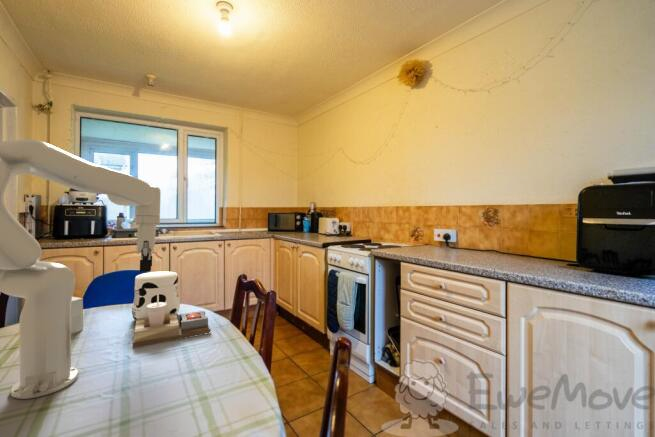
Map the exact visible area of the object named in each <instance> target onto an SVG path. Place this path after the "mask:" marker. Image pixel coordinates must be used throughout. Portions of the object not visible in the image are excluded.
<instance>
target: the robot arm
mask: <svg viewBox="0 0 655 437" xmlns="http://www.w3.org/2000/svg"><path fill="white" fill-rule="evenodd" d="M18 175H31V176H35V177H39V178H41V179H44V180H47V181H50V182H53V183H55V184H58V185H61V186H63V187H64V186H65V187H67V188H70V189H72V190H76V191H79V192H82V193H83V192H85V193H90V194H99V195H100V194H101V195H106V196H107V198H108V200H109V201H110V202H111V203H113V204H115V205H117V206H127V207H128V206H131V207H134V208H135V209H134V225H135V226H137V233H136V237H137V238H136V254H137V255H139V254H140V259H139V273H148V272H152V266H153V255H152V254H153V253H154V249H155V243H156V230H157V228H156V226H160V224H161V223H160V222H161V220H160V217H161V189H160V187H158V186H154V185H150V184H149V183H148V182H145V181H143V180H142V179H140V178H137V177H135V176H133V175H130V174H127V173H124V172H122V171H119V170H115V169H111V168H108V167H106V166H102V165H98V164H95V163H93V162H90V161H87V160H85V159H83V158H81V157H79V156H76V155H74V154H72V153H70V152H67V151H65V150H63V149H61V148H60V147H56V146H54V145H53V144H50V143H48V142H45V141H41V140H37V139H13V140H3V141H0V292H1V293H3V294H5V295H7V296H10V297H14V298H15V297H16V298H22V299H25V302H24V305H23V307H22V309H21V312H20V315H19V321H18V322H19V324H18V327H19V328H18V330H19V381H17V382H15V384H13V386H12V387H11V388H10V396H11V397H12V398H13V399H19V400H26V399H29V400H30V399H35V398H40V397H44V396H47V395H50V394H53V393H55V392H58V391H60V390H63V389H64V388H67V387H68V386H69V385H71V384H73V383H74V382H75V381H76V379H78V377H79V370H78V368H76V367H73V366H72V351H71V350H72V349H71V348H72V334H71V301H72V297H73V295H74V291H75V287H76V286H75V285H76V275H75V273H74V271H73V270H72V269H71V268H70V267H68V266H67V265H64V264H61V263H60V262H59V263H58V262H50V261H42V260H41V261H40V259H41V257H42V250H43V249H42V246H41V245H40V243H39V242H38V241H37V239H36V238H35V237H34V236H33V235H32V234H31V233H30V232H29V231H28V230H27V229H26V228H25V227H24V226H23V224H21V223H20V222H19V220H17V218H15V217H14V215H13V214H12V213H11V211H10V210H9V209H8V208H7V206H6V202H5V192H6V189H7V187H8V185H9V183H10V180H11V178H12V177H14V176H18Z"/></svg>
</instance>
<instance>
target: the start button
mask: <svg viewBox="0 0 655 437" xmlns="http://www.w3.org/2000/svg"><path fill="white" fill-rule="evenodd" d="M186 318H187V320H191V319H197V318H201V315H200V314H190V315H187V316H186Z"/></svg>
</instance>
